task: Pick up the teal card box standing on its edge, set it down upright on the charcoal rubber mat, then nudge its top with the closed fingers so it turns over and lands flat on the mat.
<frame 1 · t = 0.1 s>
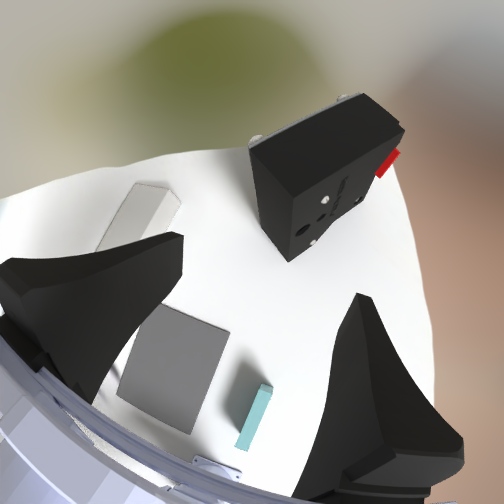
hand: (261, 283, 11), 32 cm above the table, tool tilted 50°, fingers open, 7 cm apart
card box: (256, 411, 37), on the table
electrical component: (314, 213, 47), on the table
mat: (168, 368, 40), on the table
bevelled gray strip: (116, 276, 47), on the table
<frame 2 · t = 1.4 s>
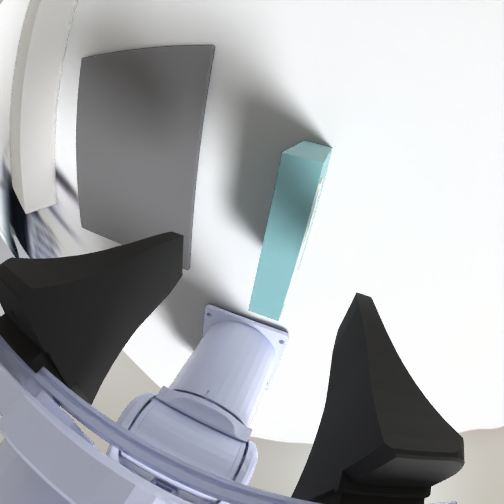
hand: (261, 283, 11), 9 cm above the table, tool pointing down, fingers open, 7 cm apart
card box: (302, 208, 19), on the table
mat: (127, 153, 21), on the table
bevelled gray strip: (46, 62, 20), on the table
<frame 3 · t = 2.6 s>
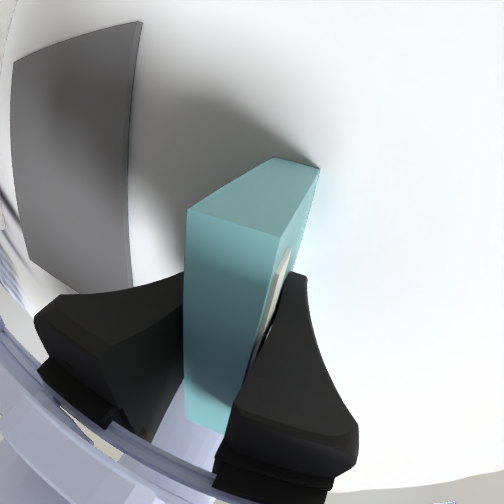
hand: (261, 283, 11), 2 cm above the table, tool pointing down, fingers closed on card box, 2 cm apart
card box: (273, 262, 12), on the table, touching gripper
mat: (55, 177, 15), on the table
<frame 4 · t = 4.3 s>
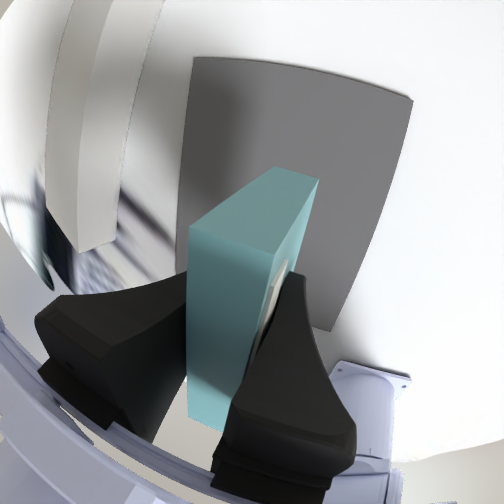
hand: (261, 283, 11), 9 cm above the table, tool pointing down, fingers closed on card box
card box: (273, 267, 13), point 7 cm above the table, touching gripper
mat: (272, 201, 19), on the table
bevelled gray strip: (108, 55, 18), on the table
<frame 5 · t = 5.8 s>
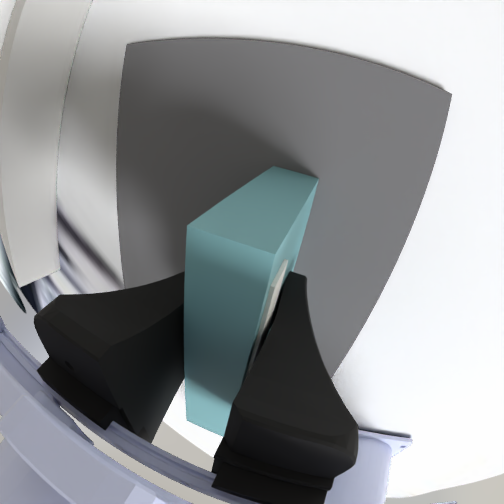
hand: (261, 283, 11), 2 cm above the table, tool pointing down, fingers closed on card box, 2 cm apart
card box: (272, 269, 13), resting on mat, touching gripper
mat: (235, 244, 13), on the table
bevelled gray strip: (46, 55, 12), on the table
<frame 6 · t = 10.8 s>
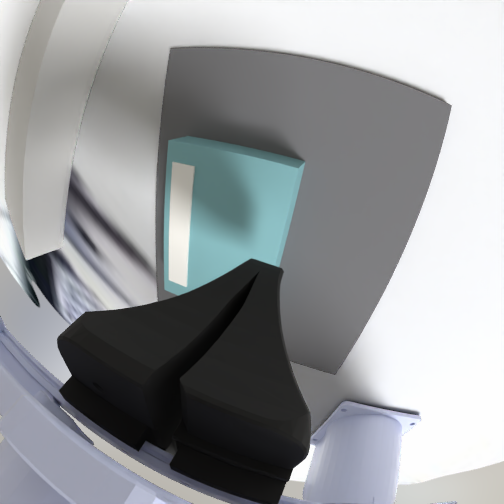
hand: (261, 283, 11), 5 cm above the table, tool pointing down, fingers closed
card box: (280, 252, 14), point 1 cm above the table, tilted 90°, touching mat
mat: (269, 229, 15), on the table
bevelled gray strip: (70, 53, 14), on the table
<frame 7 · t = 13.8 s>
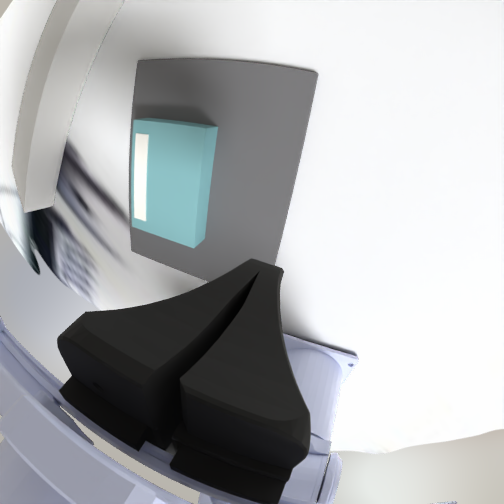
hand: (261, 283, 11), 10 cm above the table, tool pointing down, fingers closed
card box: (204, 189, 20), point 1 cm above the table, tilted 90°, touching mat
mat: (200, 176, 21), on the table
bevelled gray strip: (69, 62, 20), on the table
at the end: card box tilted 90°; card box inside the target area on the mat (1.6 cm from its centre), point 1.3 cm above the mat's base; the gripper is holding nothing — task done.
